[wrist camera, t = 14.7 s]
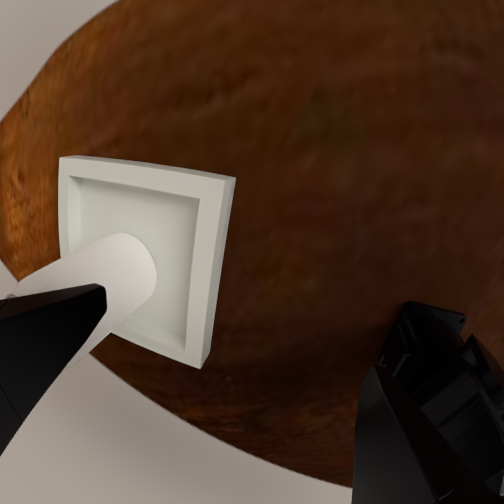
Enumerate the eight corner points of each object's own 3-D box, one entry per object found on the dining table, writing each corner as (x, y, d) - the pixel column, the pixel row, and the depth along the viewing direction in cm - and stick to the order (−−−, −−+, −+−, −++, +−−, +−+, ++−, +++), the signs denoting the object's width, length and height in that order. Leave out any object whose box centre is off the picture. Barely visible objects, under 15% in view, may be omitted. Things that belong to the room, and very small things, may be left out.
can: (100, 282, 25) (11, 345, 14) (105, 221, 23) (-7, 270, 12) (154, 310, 24) (69, 396, 13) (165, 247, 22) (54, 324, 11)
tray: (236, 177, 20) (225, 180, 17) (209, 352, 25) (200, 369, 23) (78, 155, 22) (59, 157, 20) (82, 300, 28) (68, 310, 26)
